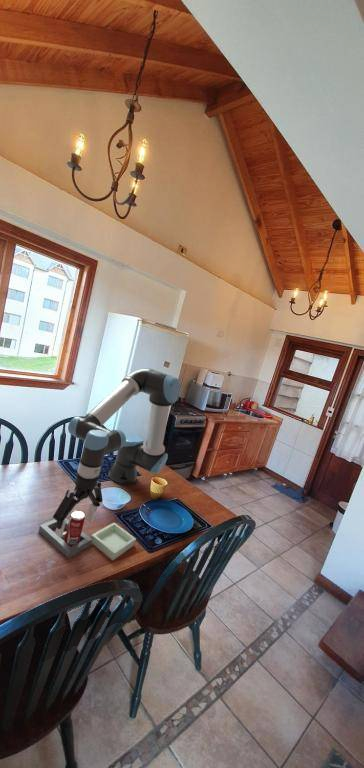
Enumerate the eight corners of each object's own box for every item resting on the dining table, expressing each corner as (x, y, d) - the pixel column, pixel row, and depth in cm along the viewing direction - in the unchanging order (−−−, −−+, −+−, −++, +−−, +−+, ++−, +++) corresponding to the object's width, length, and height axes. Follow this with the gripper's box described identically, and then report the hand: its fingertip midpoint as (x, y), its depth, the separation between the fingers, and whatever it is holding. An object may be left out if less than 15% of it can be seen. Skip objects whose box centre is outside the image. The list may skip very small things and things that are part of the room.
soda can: (65, 537, 114) (72, 508, 112) (79, 540, 115) (87, 511, 113) (61, 547, 109) (68, 517, 107) (76, 550, 109) (83, 520, 108)
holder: (38, 531, 113) (39, 525, 113) (61, 520, 122) (62, 515, 121) (68, 558, 105) (69, 552, 105) (90, 545, 114) (92, 539, 113)
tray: (89, 541, 115) (91, 534, 115) (112, 528, 126) (114, 522, 125) (112, 560, 110) (114, 553, 109) (134, 545, 120) (136, 538, 119)
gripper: (65, 489, 95) (50, 549, 98) (120, 470, 116) (106, 519, 119) (50, 478, 98) (36, 536, 101) (106, 461, 120) (93, 510, 123)
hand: (74, 527), depth 110 cm, fingers open, 13 cm apart
